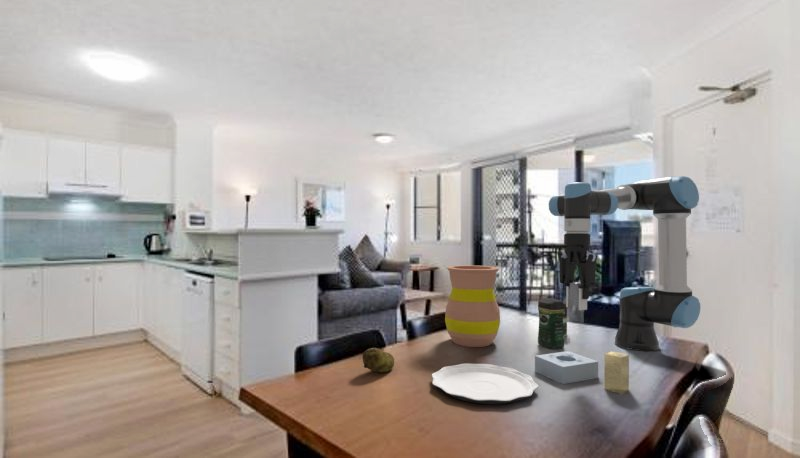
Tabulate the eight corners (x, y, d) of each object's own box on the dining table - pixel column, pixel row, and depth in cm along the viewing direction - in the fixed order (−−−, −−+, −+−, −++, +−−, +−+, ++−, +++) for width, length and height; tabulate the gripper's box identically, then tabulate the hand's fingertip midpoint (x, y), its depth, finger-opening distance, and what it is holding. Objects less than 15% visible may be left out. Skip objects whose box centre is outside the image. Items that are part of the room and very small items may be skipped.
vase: (506, 349, 158) (506, 270, 158) (447, 349, 158) (448, 269, 158) (493, 335, 180) (494, 265, 180) (442, 334, 180) (442, 265, 180)
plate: (473, 418, 100) (473, 408, 100) (413, 379, 126) (413, 371, 126) (560, 396, 114) (560, 387, 114) (489, 365, 140) (489, 358, 140)
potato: (404, 371, 133) (404, 346, 133) (369, 379, 125) (370, 353, 125) (388, 364, 139) (389, 340, 139) (355, 372, 132) (355, 346, 132)
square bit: (612, 385, 122) (612, 351, 122) (628, 390, 118) (628, 354, 118) (604, 389, 119) (604, 353, 119) (621, 394, 115) (621, 357, 115)
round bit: (576, 319, 132) (576, 281, 132) (586, 322, 128) (587, 283, 129) (566, 320, 131) (566, 282, 131) (576, 323, 127) (577, 283, 127)
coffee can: (569, 337, 177) (570, 304, 177) (544, 336, 179) (544, 303, 179) (564, 331, 187) (564, 300, 187) (540, 330, 189) (540, 299, 189)
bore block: (568, 366, 139) (568, 351, 139) (598, 377, 128) (598, 361, 128) (534, 371, 134) (534, 355, 134) (563, 384, 123) (563, 366, 123)
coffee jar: (568, 348, 160) (568, 299, 160) (552, 350, 157) (552, 301, 157) (549, 342, 169) (549, 296, 169) (534, 344, 166) (534, 297, 166)
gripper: (547, 232, 136) (546, 304, 136) (591, 232, 120) (590, 314, 120) (564, 232, 139) (564, 303, 139) (609, 233, 123) (609, 312, 123)
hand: (576, 308), depth 130 cm, fingers closed on round bit, 4 cm apart
